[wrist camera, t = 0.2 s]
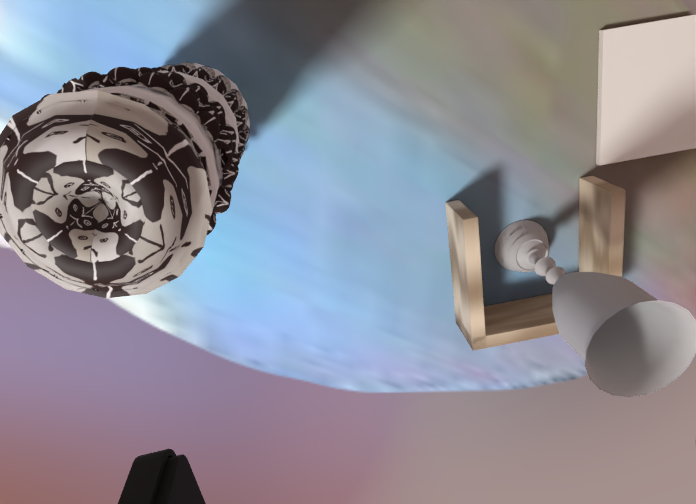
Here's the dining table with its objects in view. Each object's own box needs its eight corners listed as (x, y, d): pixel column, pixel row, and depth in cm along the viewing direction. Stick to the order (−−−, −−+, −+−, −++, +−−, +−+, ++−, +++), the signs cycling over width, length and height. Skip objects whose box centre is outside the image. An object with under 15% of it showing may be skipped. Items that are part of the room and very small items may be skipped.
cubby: (445, 202, 47) (463, 219, 42) (592, 175, 47) (626, 190, 43) (456, 322, 51) (472, 350, 47) (590, 297, 52) (619, 321, 47)
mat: (599, 30, 43) (603, 30, 42) (729, 8, 43) (735, 7, 43) (596, 164, 47) (599, 165, 46) (714, 142, 48) (720, 143, 47)
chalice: (477, 279, 50) (573, 397, 33) (489, 209, 48) (599, 299, 31) (551, 280, 51) (681, 396, 34) (566, 212, 48) (714, 300, 32)
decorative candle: (132, 49, 40) (-81, 59, 17) (258, 65, 41) (224, 94, 18) (134, 170, 43) (-41, 319, 20) (251, 181, 44) (215, 332, 21)
